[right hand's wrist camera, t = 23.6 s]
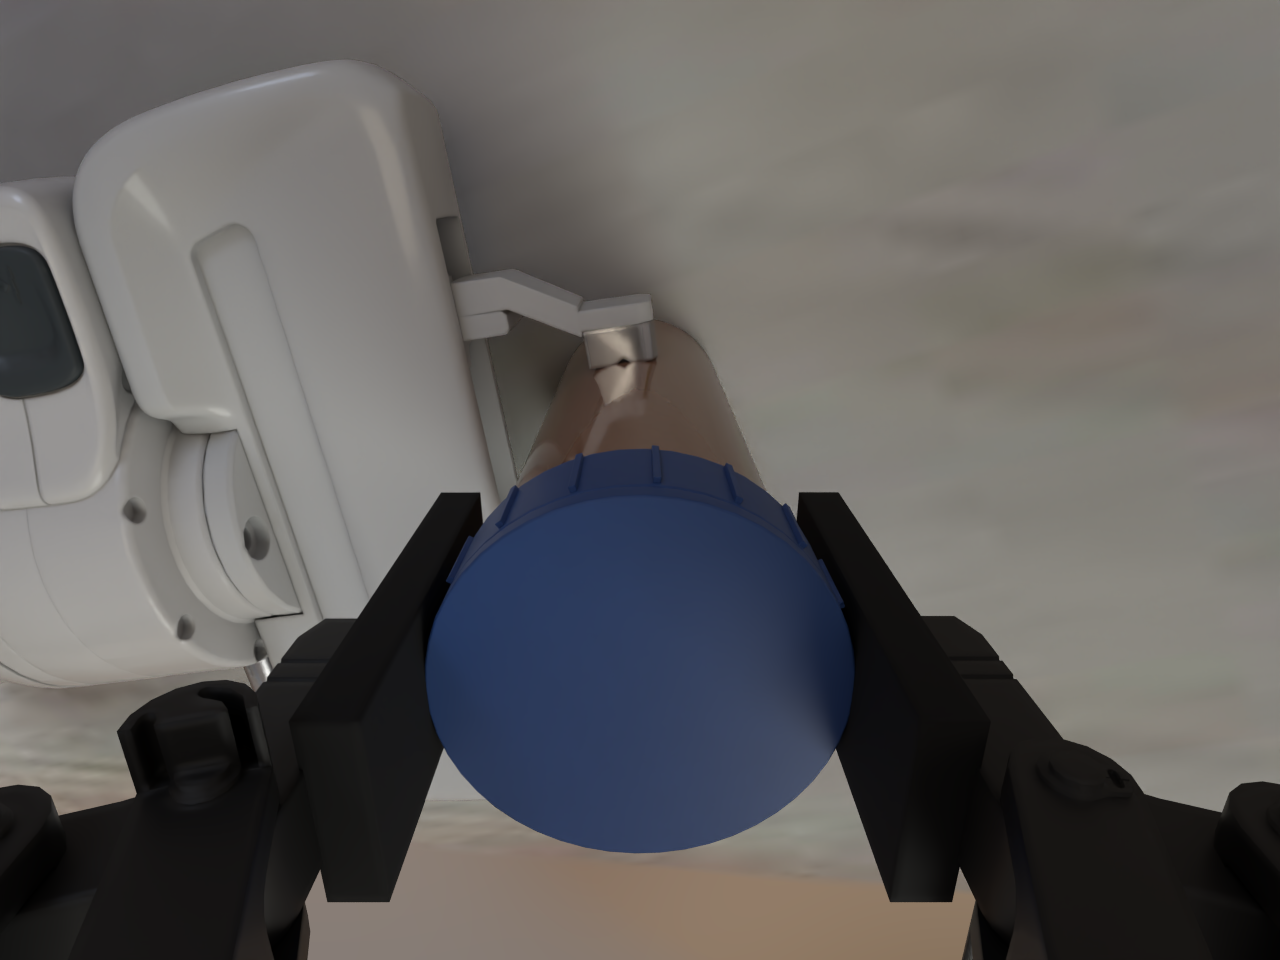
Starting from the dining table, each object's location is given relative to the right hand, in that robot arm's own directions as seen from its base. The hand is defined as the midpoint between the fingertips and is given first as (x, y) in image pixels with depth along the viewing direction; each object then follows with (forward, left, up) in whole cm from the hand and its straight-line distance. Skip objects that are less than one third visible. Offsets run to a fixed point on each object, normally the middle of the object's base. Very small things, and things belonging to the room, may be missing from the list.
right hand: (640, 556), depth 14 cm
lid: (0, 0, +4) cm, 4 cm away
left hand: (0, -1, -6) cm, 6 cm away
